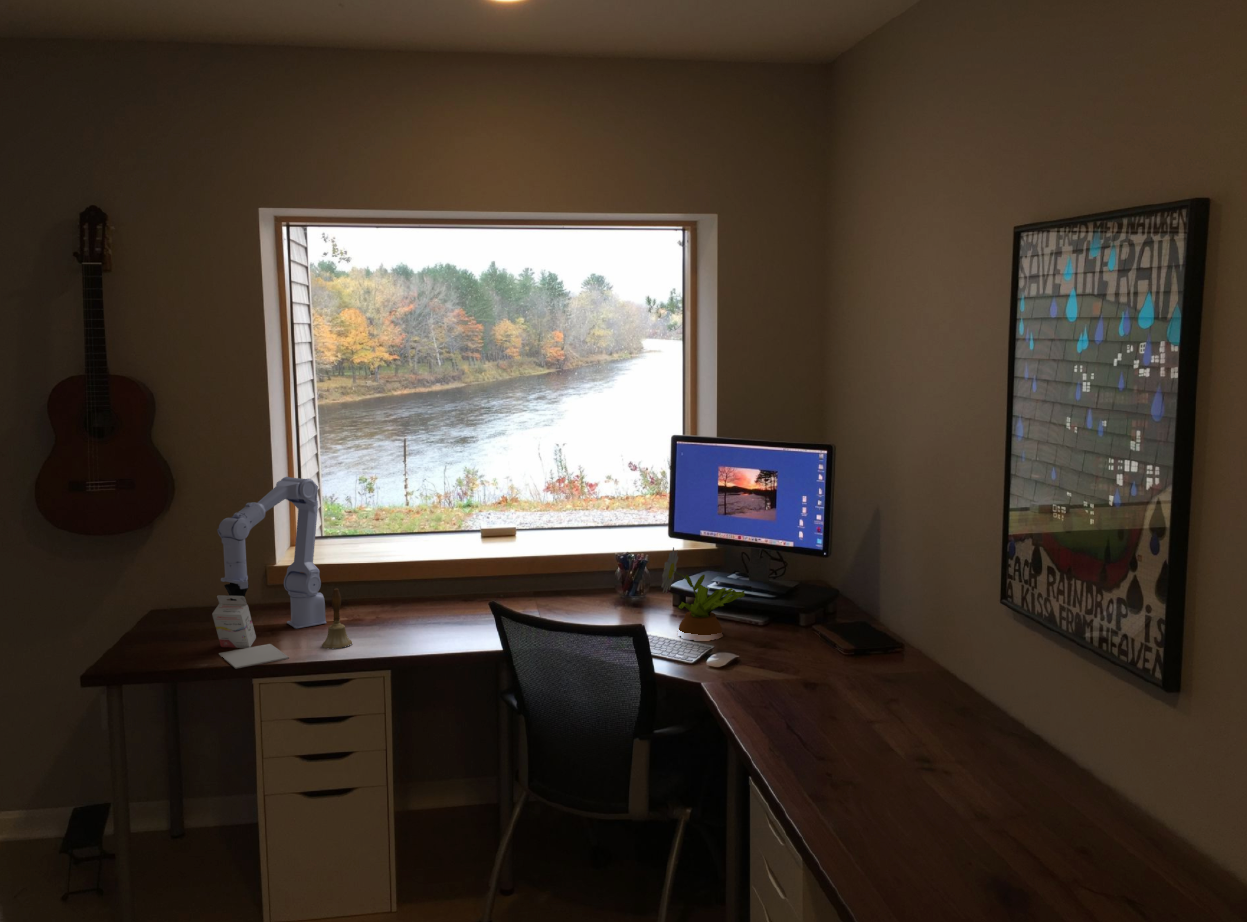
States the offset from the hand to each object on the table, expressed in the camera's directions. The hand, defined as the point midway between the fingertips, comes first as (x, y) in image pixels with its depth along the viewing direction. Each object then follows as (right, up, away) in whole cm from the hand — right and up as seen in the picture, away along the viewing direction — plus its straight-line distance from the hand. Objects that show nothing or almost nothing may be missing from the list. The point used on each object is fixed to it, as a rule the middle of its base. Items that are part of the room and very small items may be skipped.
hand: (237, 609), depth 291 cm
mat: (+7, -12, -8) cm, 16 cm away
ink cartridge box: (0, -10, +1) cm, 10 cm away
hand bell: (+27, -10, +2) cm, 29 cm away
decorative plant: (+129, -9, +8) cm, 130 cm away
